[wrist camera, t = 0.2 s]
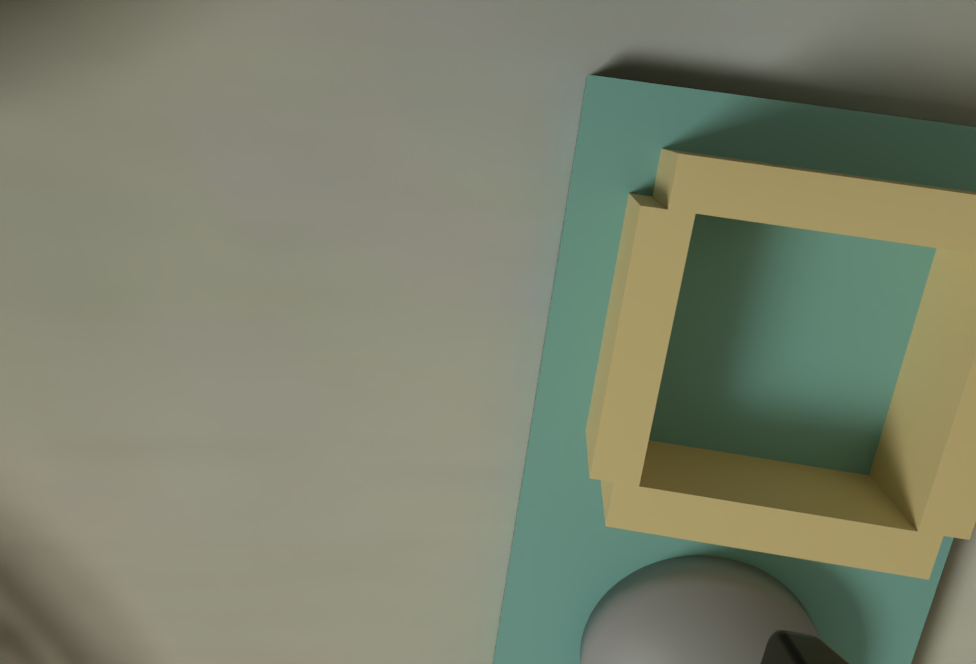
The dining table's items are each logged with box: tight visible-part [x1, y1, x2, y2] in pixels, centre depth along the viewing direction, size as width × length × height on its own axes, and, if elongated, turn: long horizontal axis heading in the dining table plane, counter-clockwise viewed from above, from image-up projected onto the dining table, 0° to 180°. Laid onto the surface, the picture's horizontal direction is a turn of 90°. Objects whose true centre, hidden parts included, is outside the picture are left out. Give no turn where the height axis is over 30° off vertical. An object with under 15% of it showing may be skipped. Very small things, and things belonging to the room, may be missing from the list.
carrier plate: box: [493, 75, 976, 664], centre depth 20 cm, size 20×12×4 cm, turn 173°
